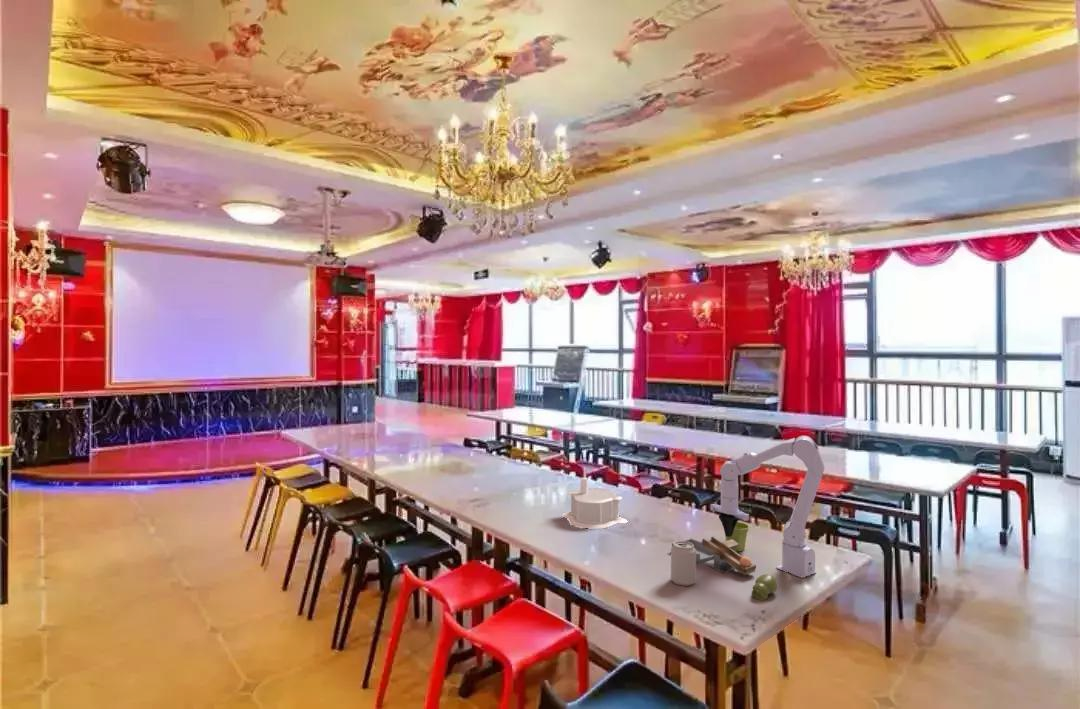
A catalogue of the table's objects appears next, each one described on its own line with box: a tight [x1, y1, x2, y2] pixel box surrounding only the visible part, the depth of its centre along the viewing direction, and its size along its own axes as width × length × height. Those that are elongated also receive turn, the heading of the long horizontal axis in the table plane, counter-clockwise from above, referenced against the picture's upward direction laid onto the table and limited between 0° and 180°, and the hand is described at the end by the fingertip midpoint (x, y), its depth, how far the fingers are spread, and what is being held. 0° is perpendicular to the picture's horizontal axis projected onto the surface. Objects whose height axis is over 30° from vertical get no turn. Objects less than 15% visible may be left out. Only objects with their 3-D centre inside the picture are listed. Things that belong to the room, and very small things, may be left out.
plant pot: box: [722, 521, 750, 552], centre depth 202 cm, size 9×9×9 cm
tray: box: [671, 538, 714, 564], centre depth 196 cm, size 12×10×3 cm
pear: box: [751, 573, 778, 601], centre depth 165 cm, size 6×5×10 cm
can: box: [670, 540, 697, 587], centre depth 173 cm, size 8×8×12 cm
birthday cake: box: [562, 467, 629, 530], centre depth 236 cm, size 30×29×22 cm
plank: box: [701, 535, 757, 576], centre depth 187 cm, size 18×13×2 cm
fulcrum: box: [708, 550, 737, 574], centre depth 186 cm, size 6×9×5 cm, turn 123°
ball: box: [740, 556, 752, 568], centre depth 179 cm, size 4×4×4 cm
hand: (728, 535), depth 192 cm, fingers closed
